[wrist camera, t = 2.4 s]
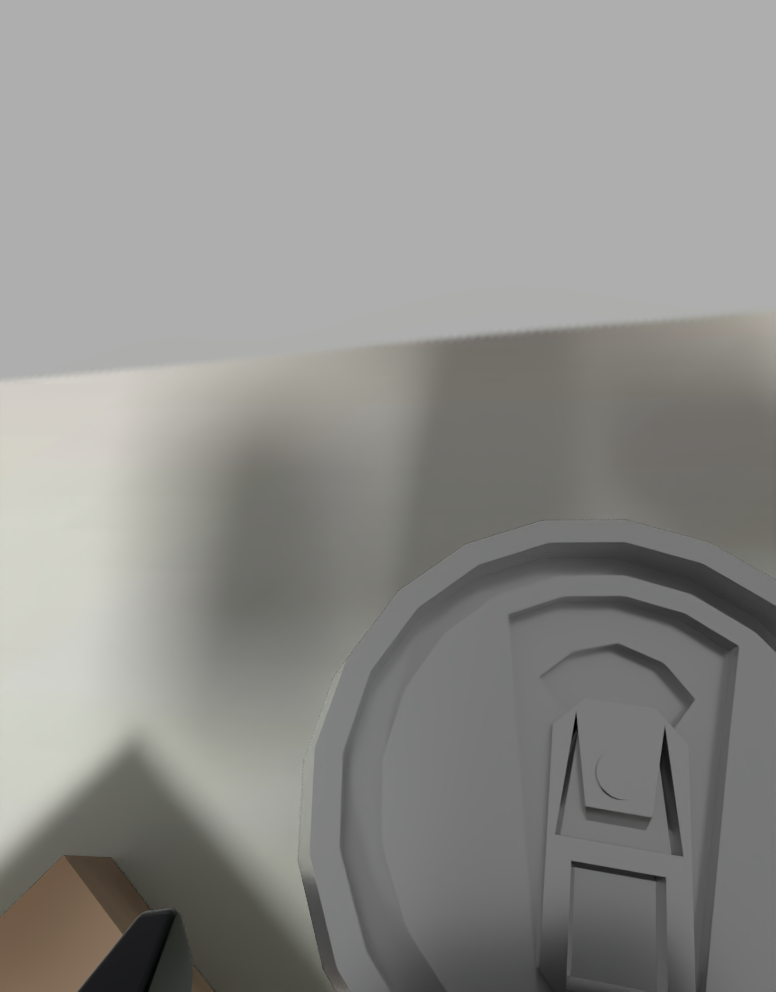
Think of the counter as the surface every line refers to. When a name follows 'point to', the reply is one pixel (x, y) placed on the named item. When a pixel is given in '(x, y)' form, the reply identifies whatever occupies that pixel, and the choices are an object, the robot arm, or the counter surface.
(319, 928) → the beer can
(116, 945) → the robot arm
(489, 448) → the counter surface
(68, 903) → the hole board
